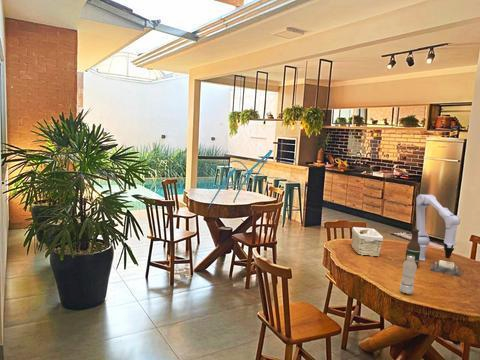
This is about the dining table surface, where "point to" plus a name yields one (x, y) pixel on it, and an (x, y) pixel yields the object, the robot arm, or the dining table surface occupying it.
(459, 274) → the roll cradle
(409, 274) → the plastic bottle
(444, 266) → the paper roll
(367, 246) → the storage basket
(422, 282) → the dining table surface
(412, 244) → the beer bottle
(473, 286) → the dining table surface
